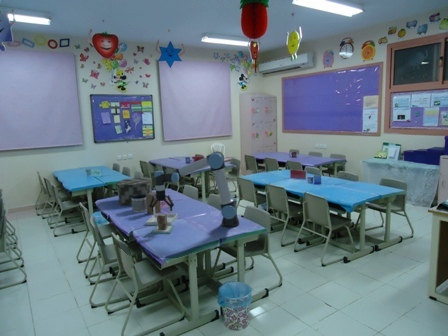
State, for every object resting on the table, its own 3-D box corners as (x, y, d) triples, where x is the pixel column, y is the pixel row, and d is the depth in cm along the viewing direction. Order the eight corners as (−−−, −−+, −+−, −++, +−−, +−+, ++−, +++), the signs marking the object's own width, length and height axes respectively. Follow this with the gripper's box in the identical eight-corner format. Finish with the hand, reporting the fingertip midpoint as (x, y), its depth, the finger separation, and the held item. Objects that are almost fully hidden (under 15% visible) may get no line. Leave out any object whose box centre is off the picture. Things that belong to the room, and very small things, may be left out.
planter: (140, 213, 319) (139, 199, 317) (129, 211, 327) (127, 197, 325) (151, 209, 333) (150, 195, 330) (140, 207, 341) (139, 194, 338)
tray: (178, 217, 304) (177, 213, 303) (171, 226, 280) (170, 222, 279) (154, 217, 306) (154, 213, 306) (145, 226, 282) (145, 222, 282)
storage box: (123, 198, 382) (121, 179, 379) (153, 196, 386) (152, 177, 382) (117, 206, 348) (115, 185, 344) (150, 204, 352) (149, 183, 348)
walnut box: (167, 227, 273) (166, 213, 271) (165, 229, 267) (164, 215, 265) (160, 227, 274) (159, 213, 272) (158, 229, 268) (157, 215, 266)
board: (174, 226, 278) (174, 225, 277) (169, 233, 262) (169, 232, 262) (156, 226, 279) (156, 225, 279) (150, 233, 264) (150, 232, 263)
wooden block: (161, 212, 319) (159, 193, 316) (152, 215, 312) (151, 195, 309) (155, 211, 326) (153, 191, 323) (146, 213, 319) (145, 193, 316)
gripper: (176, 188, 267) (178, 213, 271) (147, 189, 270) (149, 213, 274) (174, 190, 260) (176, 216, 263) (144, 191, 263) (146, 216, 266)
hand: (162, 214), depth 268 cm, fingers open, 13 cm apart
